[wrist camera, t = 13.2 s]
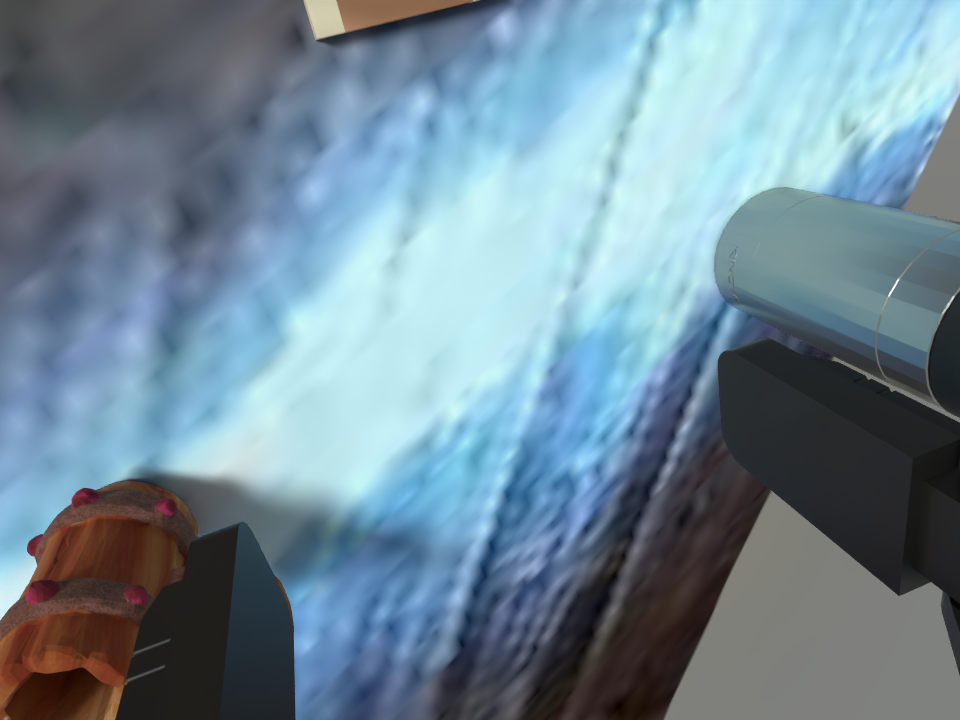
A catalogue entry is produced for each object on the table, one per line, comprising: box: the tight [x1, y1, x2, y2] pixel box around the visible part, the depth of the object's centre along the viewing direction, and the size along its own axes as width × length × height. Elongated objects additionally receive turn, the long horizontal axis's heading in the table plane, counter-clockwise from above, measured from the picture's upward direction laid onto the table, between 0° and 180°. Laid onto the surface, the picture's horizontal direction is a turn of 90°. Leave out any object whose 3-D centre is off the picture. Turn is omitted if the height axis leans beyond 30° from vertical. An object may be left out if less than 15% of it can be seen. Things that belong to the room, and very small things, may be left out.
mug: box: [0, 481, 294, 720], centre depth 35 cm, size 15×8×15 cm, turn 74°
